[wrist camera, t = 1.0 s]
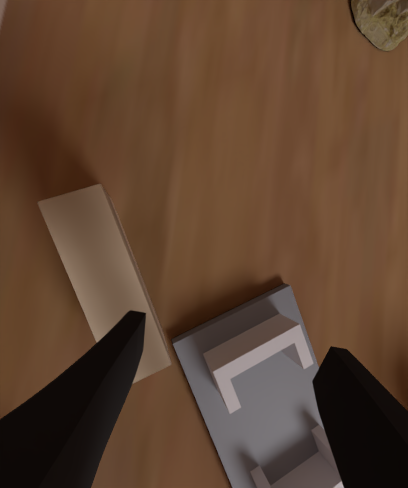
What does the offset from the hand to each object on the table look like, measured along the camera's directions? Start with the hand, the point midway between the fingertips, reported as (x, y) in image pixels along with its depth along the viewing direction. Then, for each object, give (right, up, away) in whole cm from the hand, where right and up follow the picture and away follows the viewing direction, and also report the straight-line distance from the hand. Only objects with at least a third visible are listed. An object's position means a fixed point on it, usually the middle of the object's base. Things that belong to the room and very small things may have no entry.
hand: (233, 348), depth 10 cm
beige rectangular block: (-8, +2, +11) cm, 14 cm away
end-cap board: (+5, -11, +14) cm, 19 cm away
